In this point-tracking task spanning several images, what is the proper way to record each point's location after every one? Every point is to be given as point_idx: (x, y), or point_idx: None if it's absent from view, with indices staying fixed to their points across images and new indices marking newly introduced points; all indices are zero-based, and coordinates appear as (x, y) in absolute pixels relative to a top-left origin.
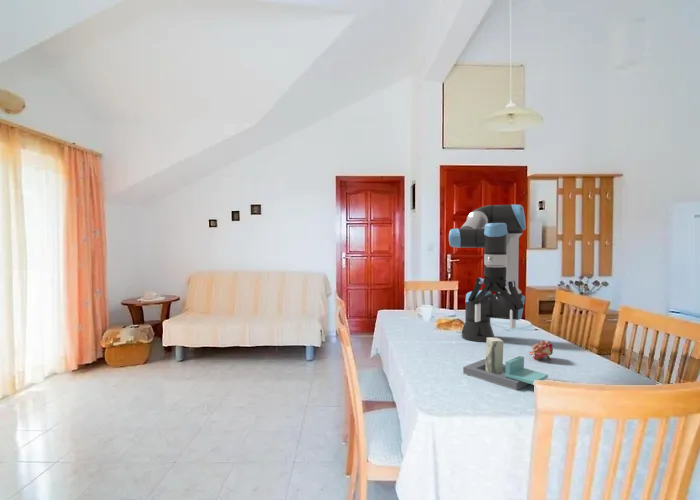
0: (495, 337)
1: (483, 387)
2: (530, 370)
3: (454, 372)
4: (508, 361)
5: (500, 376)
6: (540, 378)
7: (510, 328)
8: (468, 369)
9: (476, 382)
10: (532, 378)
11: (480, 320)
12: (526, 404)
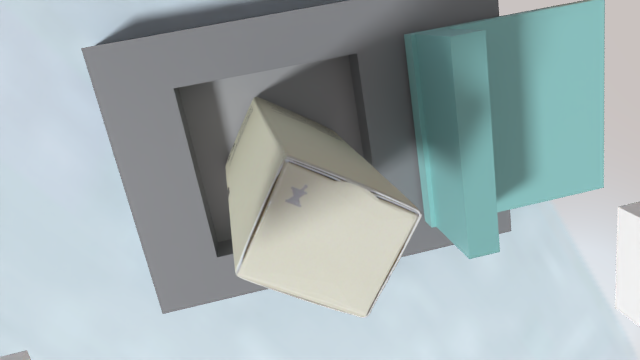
0: (288, 188)
1: (377, 330)
2: (498, 30)
3: (126, 324)
4: (476, 235)
5: None
6: (603, 109)
7: (630, 308)
8: (202, 301)
9: (311, 316)
10: (574, 152)
11: (23, 355)
12: (596, 299)
